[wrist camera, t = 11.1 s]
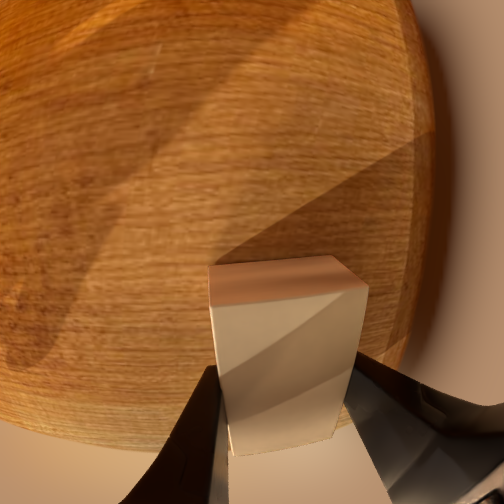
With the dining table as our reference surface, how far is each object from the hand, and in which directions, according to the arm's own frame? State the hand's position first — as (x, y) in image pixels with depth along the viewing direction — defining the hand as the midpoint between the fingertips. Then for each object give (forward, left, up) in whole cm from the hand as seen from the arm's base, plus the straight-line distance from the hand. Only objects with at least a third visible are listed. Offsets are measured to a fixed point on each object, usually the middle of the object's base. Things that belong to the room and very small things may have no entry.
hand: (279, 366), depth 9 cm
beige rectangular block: (0, 0, -1) cm, 1 cm away
